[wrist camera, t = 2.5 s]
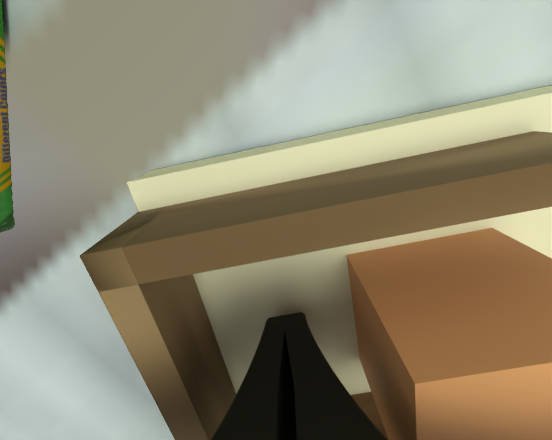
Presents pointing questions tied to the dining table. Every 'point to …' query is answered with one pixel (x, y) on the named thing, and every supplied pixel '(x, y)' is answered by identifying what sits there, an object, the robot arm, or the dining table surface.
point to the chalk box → (4, 144)
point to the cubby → (286, 252)
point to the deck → (333, 262)
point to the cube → (457, 337)
